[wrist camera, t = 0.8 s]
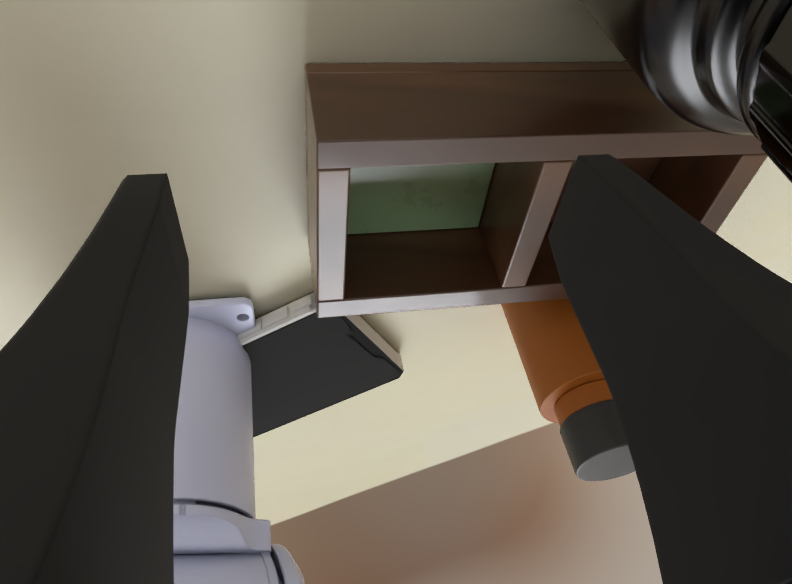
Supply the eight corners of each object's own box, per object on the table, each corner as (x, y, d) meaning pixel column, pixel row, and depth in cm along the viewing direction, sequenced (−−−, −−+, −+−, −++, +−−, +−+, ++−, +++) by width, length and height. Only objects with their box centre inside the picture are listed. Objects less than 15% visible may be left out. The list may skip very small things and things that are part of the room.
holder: (637, 222, 29) (678, 290, 26) (307, 241, 26) (316, 318, 23) (723, 60, 22) (787, 128, 20) (304, 62, 20) (316, 141, 17)
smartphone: (73, 418, 31) (328, 301, 27) (77, 397, 32) (326, 280, 28) (185, 467, 37) (408, 376, 33) (186, 448, 38) (404, 357, 34)
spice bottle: (569, 309, 33) (645, 479, 27) (490, 315, 32) (550, 492, 26) (597, 251, 30) (691, 431, 24) (510, 257, 29) (584, 444, 23)
